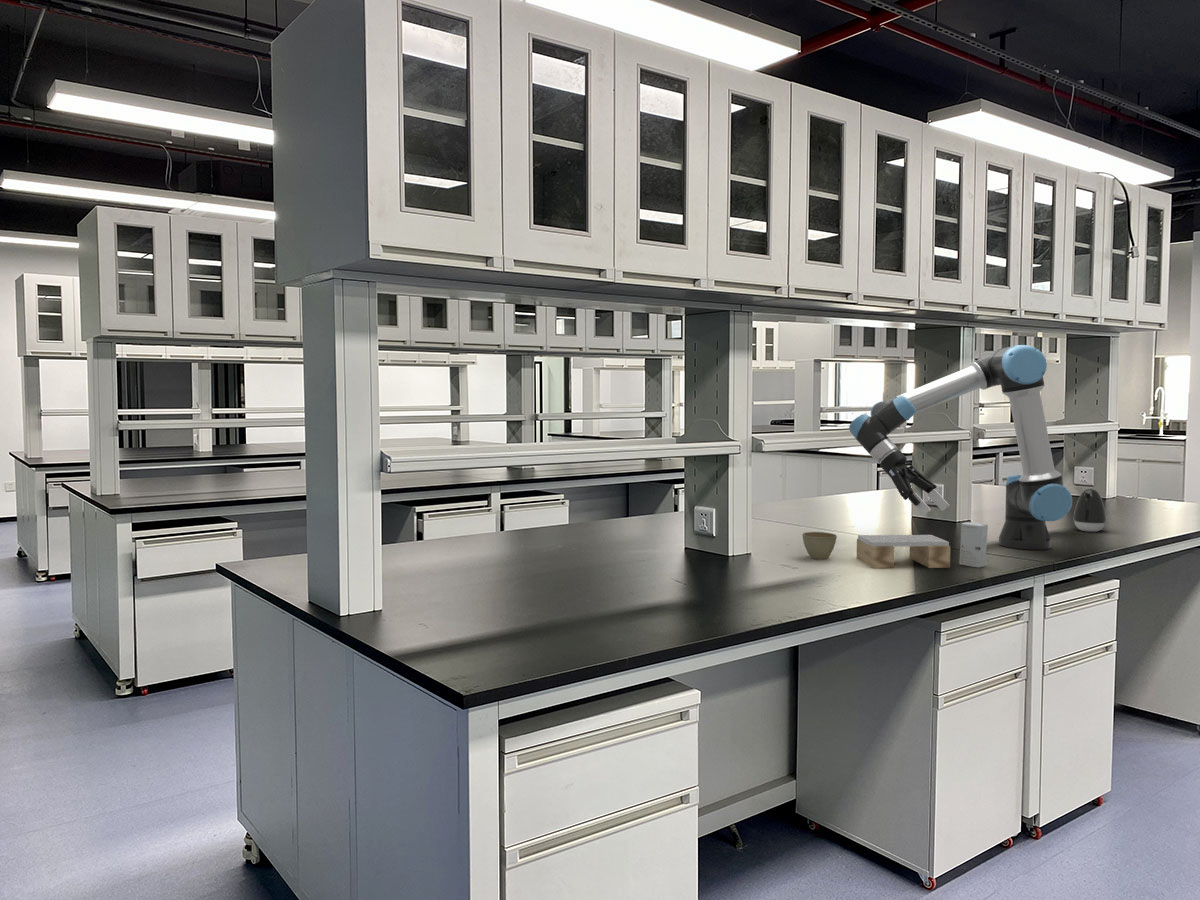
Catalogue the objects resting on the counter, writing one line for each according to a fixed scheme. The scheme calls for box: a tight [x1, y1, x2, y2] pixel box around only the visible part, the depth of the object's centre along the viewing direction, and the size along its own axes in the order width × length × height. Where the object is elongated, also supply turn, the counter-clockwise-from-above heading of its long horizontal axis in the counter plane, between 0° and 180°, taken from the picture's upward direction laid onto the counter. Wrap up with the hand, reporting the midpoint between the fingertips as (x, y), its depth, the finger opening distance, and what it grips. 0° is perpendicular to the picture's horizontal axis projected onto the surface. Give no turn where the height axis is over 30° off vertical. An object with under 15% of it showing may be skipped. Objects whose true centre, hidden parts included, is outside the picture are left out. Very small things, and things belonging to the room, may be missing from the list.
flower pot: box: [802, 531, 838, 561], centre depth 249 cm, size 10×10×7 cm
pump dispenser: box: [1072, 488, 1107, 533], centre depth 298 cm, size 10×10×15 cm
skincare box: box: [958, 521, 989, 568], centre depth 238 cm, size 6×4×12 cm
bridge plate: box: [857, 534, 950, 547], centre depth 241 cm, size 22×12×1 cm, turn 91°
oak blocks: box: [856, 538, 951, 569], centre depth 241 cm, size 22×14×6 cm, turn 91°
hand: (936, 510), depth 244 cm, fingers open, 13 cm apart
